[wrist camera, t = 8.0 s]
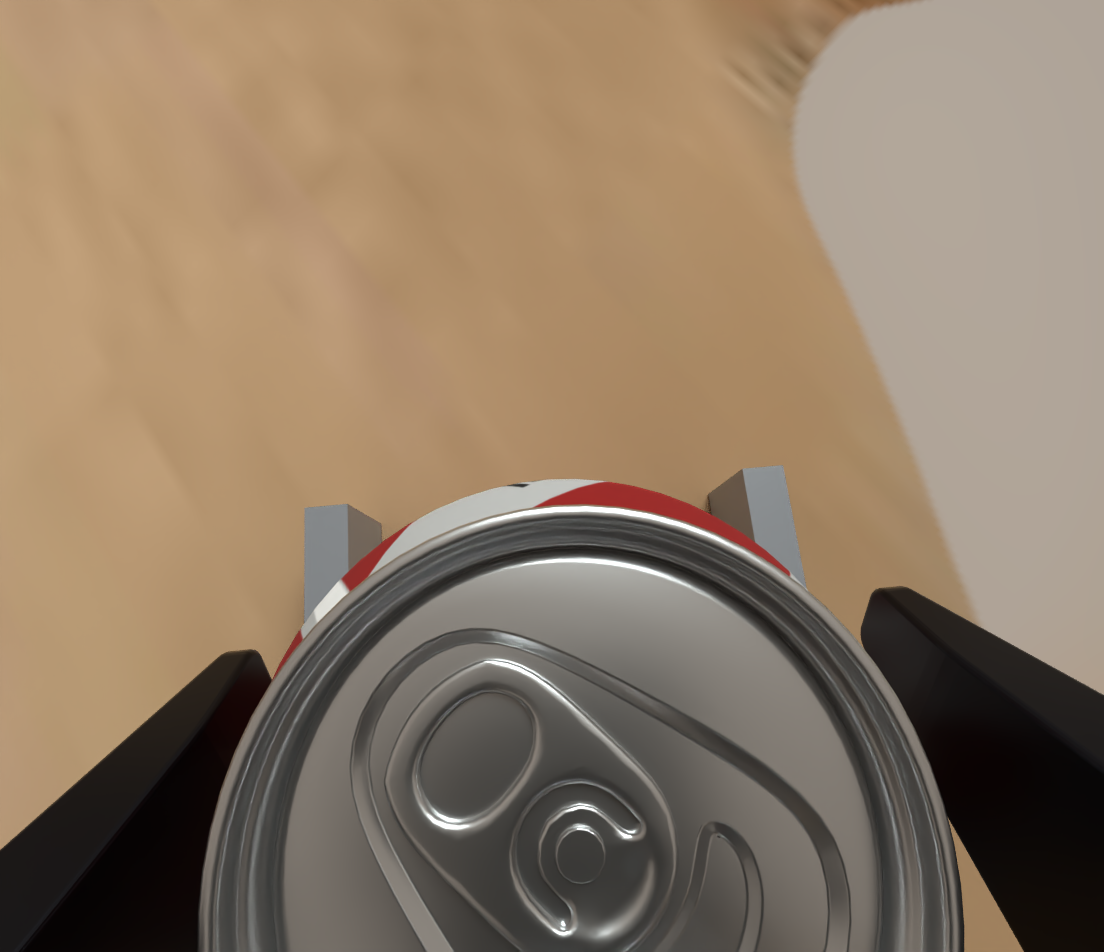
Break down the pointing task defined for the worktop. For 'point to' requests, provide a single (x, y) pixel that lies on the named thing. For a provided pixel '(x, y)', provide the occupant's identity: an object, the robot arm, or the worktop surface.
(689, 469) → the worktop surface
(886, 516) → the worktop surface
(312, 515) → the gray bracket
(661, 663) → the soda can
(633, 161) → the worktop surface
